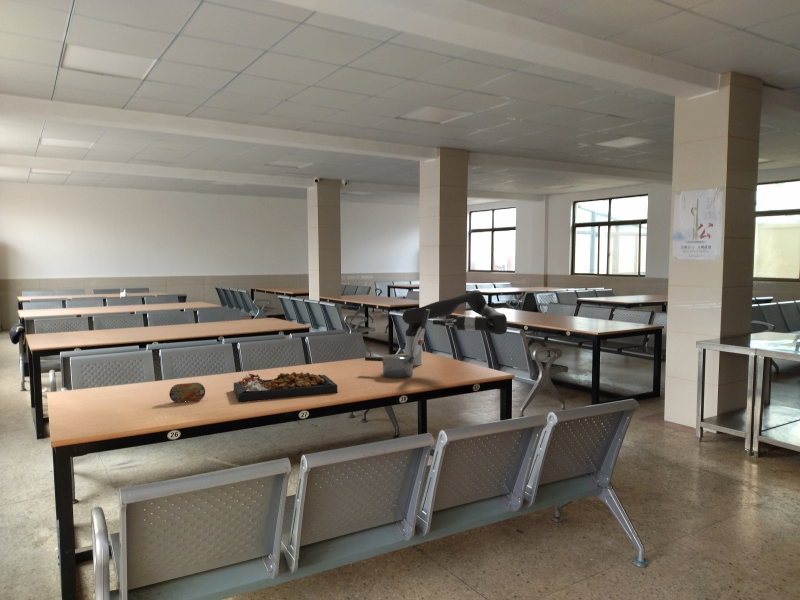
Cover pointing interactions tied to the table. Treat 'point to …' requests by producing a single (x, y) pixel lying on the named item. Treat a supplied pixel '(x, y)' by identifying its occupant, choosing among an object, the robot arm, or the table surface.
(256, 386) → the food platter
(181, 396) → the tin
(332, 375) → the table surface
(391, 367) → the cooker pot
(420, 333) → the cooker lid
